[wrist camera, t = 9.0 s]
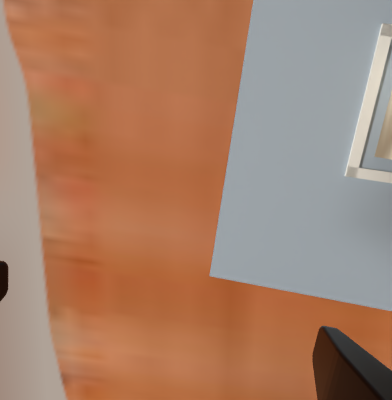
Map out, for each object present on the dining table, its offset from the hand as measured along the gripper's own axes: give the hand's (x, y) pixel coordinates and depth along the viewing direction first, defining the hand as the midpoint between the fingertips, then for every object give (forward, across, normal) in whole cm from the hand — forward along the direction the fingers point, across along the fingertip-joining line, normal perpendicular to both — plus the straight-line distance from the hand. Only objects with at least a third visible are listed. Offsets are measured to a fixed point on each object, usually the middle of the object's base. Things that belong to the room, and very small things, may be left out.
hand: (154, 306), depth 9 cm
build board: (+12, -9, -4) cm, 16 cm away
